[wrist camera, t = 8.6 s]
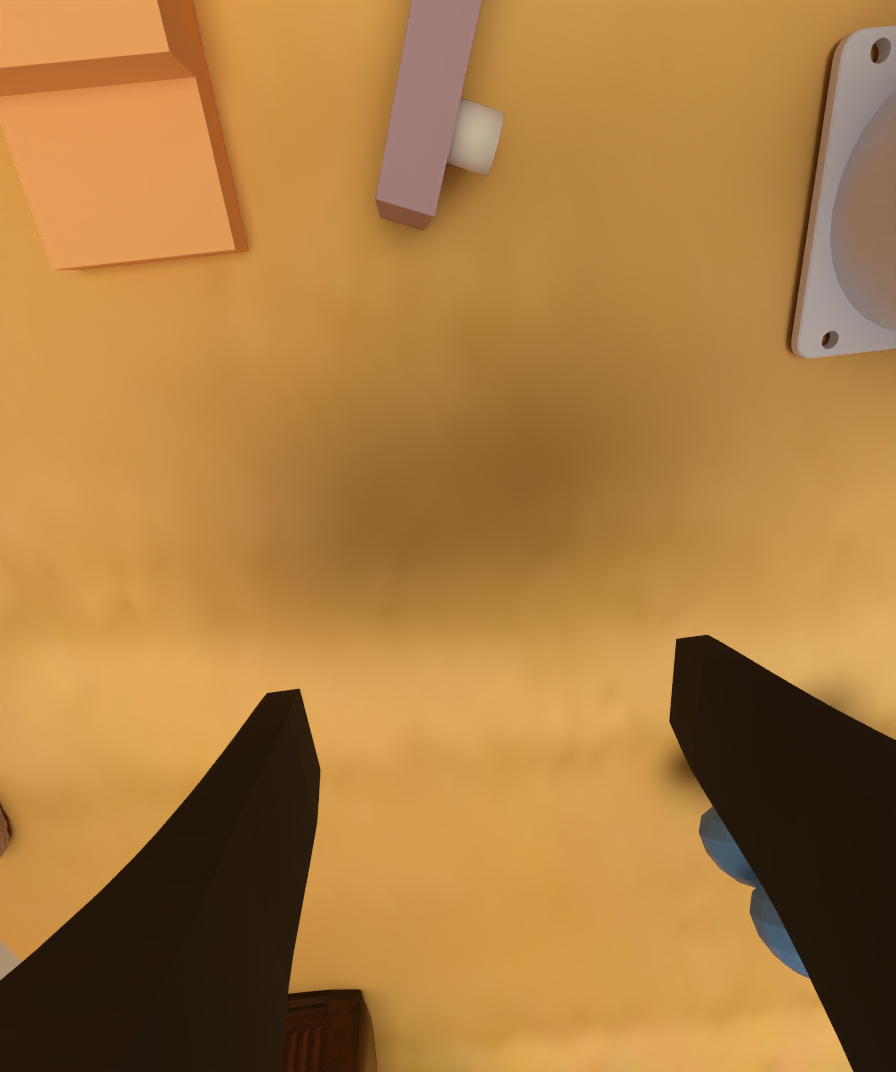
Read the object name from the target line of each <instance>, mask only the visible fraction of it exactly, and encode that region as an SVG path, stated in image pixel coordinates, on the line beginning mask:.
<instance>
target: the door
mask: <svg viewBox="0 0 896 1072" xmlns="http://www.w3.org/2000/svg"><path fill="white" fill-rule="evenodd" d="M481 3H482V0H412V2H411V7H410V13H409V18H408V24H407V29H406V35H405V40H404V46H403V51H402V57H401V62H400V68H399V73H398V79H397V84H396V90H395V95H394V101H393V106H392V112H391V117H390V123H389V128H388V134H387V139H386V145H385V150H384V156H383V161H382V167H381V172H380V178H379V183H378V189H377V194H376V203H377V207H378V211H379V215H380V217H381V218H385V219H388V220H391V221H395V222H398V223H401V224H405V225H408V226H412V227H415V228H418V229H422V230H424V229H425V228H426V227H427V226H428V224H429V223H430V222H431V221H432V219H433V218H434V217H435V213H436V208H437V204H438V199H439V195H440V190H441V185H442V181H443V176H444V172H445V167H446V164H449V165H453V166H456V167H459V168H462V169H465V170H468V171H471V172H474V173H478V174H481V175H484V176H487V175H488V173H489V171H490V168H491V166H492V163H493V159H494V156H495V153H496V149H497V145H498V142H499V138H500V133H501V129H502V124H503V117H504V112H502V111H499V110H496V109H493V108H490V107H487V106H485V105H482V104H479V103H476V102H473V101H470V100H467V99H464V98H461V94H462V90H463V85H464V80H465V76H466V71H467V67H468V62H469V58H470V53H471V49H472V44H473V39H474V35H475V30H476V26H477V21H478V17H479V12H480V7H481Z"/></svg>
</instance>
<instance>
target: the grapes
mask: <svg viewBox="0 0 896 1072" xmlns="http://www.w3.org/2000/svg"><path fill="white" fill-rule="evenodd" d="M699 834H700V837H701V839H702V842H703V845H704V847H705V850H706V852H707V853H708V855H709V856H710V857H711V858H712V860H713V861H714V862H715V863H716V865H717V866H718V867H719V868H720V869H721V870H723V871H724V872H725V873H727V874H728V875H730V876H731V877H732V878H734V879H735V880H737V881H738V882H740V883H743V884H746V885H749V886H752V887H755V888H756V889H755V890H753V891H752V896H751V905H750V915H751V917H752V920H753V922H754V925H755V927H756V930H757V932H758V935H759V937H760V938H761V939H762V941H763V942H764V943H765V944H766V946H767V947H768V948H769V949H770V951H771V952H772V953H773V954H774V955H775V956H776V957H777V958H778V959H779V960H781V961H782V962H783V963H784V964H785V965H787V966H788V967H789V968H791V969H792V970H794V971H795V972H797V973H798V974H800V975H803V976H805V977H807V978H810V977H809V975H808V973H807V971H806V969H805V967H804V965H803V963H802V961H801V959H800V957H799V955H798V953H797V951H796V949H795V947H794V945H793V943H792V941H791V939H790V937H789V935H788V933H787V931H786V929H785V927H784V925H783V923H782V921H781V919H780V917H779V915H778V913H777V911H776V909H775V908H774V906H773V904H772V902H771V901H770V899H769V897H768V895H767V894H766V892H765V890H764V888H763V886H762V885H761V883H760V881H759V880H758V878H757V876H756V875H755V873H754V872H753V870H752V868H751V867H750V865H749V864H748V862H747V860H746V859H745V857H744V855H743V854H742V852H741V851H740V849H739V847H738V846H737V844H736V842H735V841H734V839H733V838H732V836H731V834H730V833H729V831H728V830H727V828H726V826H725V825H724V823H723V821H722V820H721V818H720V817H719V815H718V813H717V812H716V810H715V808H714V807H712V808H710V809H709V810H708V811H707V812H705V813H704V814H703V815H702V816H701V822H700V828H699Z"/></svg>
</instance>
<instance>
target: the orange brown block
mask: <svg viewBox="0 0 896 1072" xmlns="http://www.w3.org/2000/svg"><path fill="white" fill-rule="evenodd" d="M0 124H1V127H2V130H3V132H4V135H5V138H6V141H7V144H8V146H9V149H10V152H11V155H12V158H13V161H14V163H15V166H16V169H17V172H18V175H19V177H20V180H21V183H22V186H23V189H24V191H25V194H26V197H27V200H28V203H29V206H30V208H31V211H32V214H33V217H34V220H35V222H36V225H37V228H38V231H39V234H40V237H41V239H42V242H43V245H44V248H45V251H46V253H47V256H48V259H49V262H50V265H51V267H52V270H84V269H93V268H102V267H111V266H120V265H129V264H138V263H147V262H156V261H165V260H174V259H183V258H192V257H201V256H209V255H218V254H227V253H236V252H245V251H248V247H247V243H246V238H245V234H244V229H243V225H242V220H241V216H240V211H239V207H238V202H237V198H236V193H235V189H234V184H233V180H232V175H231V171H230V167H229V162H228V158H227V153H226V149H225V144H224V140H223V135H222V131H221V126H220V122H219V117H218V113H217V108H216V104H215V99H214V95H213V90H212V86H211V81H210V77H209V72H208V68H207V63H206V59H205V55H204V50H203V46H202V41H201V37H200V32H199V28H198V23H197V19H196V14H195V10H194V5H193V1H192V0H0Z"/></svg>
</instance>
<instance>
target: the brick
mask: <svg viewBox="0 0 896 1072" xmlns="http://www.w3.org/2000/svg"><path fill="white" fill-rule="evenodd" d="M8 840H9V834H8V831H7V822H6V820H5V818H4V815H3V813H2V811H1V808H0V858H1V856H2V855H3V853H4V852H5V850H6V848H7V846H8Z"/></svg>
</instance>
